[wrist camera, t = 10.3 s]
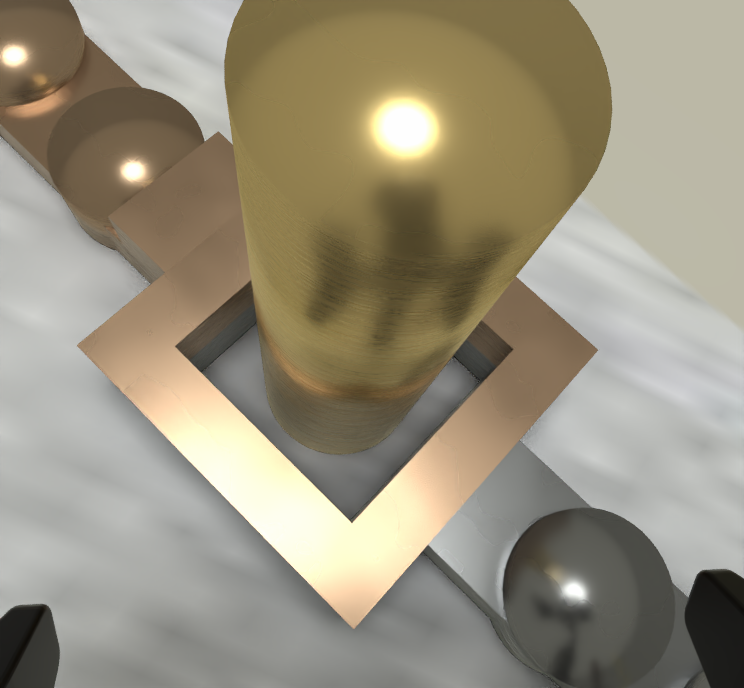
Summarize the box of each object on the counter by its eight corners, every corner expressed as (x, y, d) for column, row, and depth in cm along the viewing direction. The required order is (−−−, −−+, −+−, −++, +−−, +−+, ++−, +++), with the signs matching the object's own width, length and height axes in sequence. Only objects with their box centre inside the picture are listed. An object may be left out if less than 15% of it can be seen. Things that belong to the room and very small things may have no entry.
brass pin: (438, 409, 19) (686, 152, 7) (310, 482, 18) (351, 325, 6) (365, 289, 20) (478, -118, 8) (239, 353, 19) (155, -5, 7)
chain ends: (899, 695, 18) (1013, 721, 15) (724, 1009, 15) (822, 1109, 13) (72, -57, 22) (41, -148, 19) (-171, 91, 20) (-249, 12, 17)
